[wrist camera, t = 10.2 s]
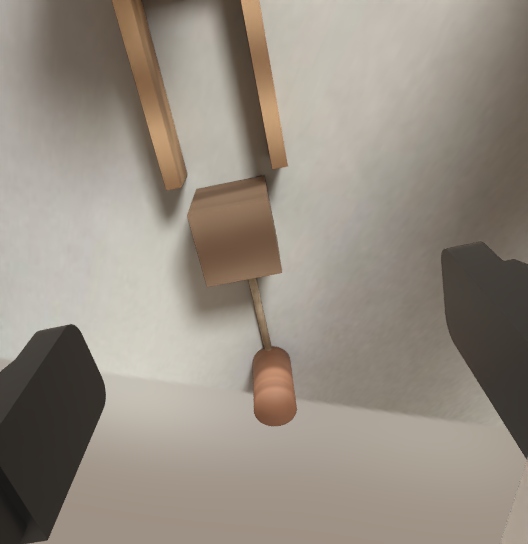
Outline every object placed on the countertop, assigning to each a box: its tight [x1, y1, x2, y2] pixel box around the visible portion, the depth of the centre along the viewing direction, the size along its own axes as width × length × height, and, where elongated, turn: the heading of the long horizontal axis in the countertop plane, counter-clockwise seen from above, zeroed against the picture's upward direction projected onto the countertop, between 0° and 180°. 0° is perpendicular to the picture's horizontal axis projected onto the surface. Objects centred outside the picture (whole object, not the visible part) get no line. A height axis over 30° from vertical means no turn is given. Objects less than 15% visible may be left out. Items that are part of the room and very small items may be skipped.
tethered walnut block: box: [187, 176, 297, 426], centre depth 36 cm, size 18×5×6 cm, turn 11°
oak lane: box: [112, 0, 288, 190], centre depth 30 cm, size 14×8×4 cm, turn 11°
